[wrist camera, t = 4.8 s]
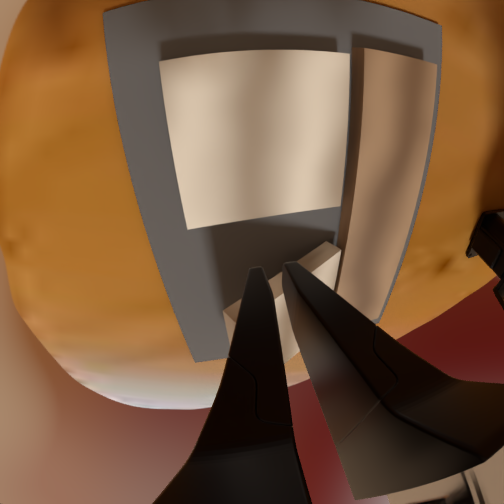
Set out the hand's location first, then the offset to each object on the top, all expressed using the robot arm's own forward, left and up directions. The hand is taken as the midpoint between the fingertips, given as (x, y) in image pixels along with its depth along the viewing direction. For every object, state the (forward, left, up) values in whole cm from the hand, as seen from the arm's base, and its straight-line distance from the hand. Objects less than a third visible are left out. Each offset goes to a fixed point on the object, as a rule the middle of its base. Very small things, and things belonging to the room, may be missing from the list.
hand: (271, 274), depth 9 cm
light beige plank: (-2, -2, -10) cm, 11 cm away
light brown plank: (-11, +5, -10) cm, 16 cm away
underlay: (-5, +5, -11) cm, 13 cm away
